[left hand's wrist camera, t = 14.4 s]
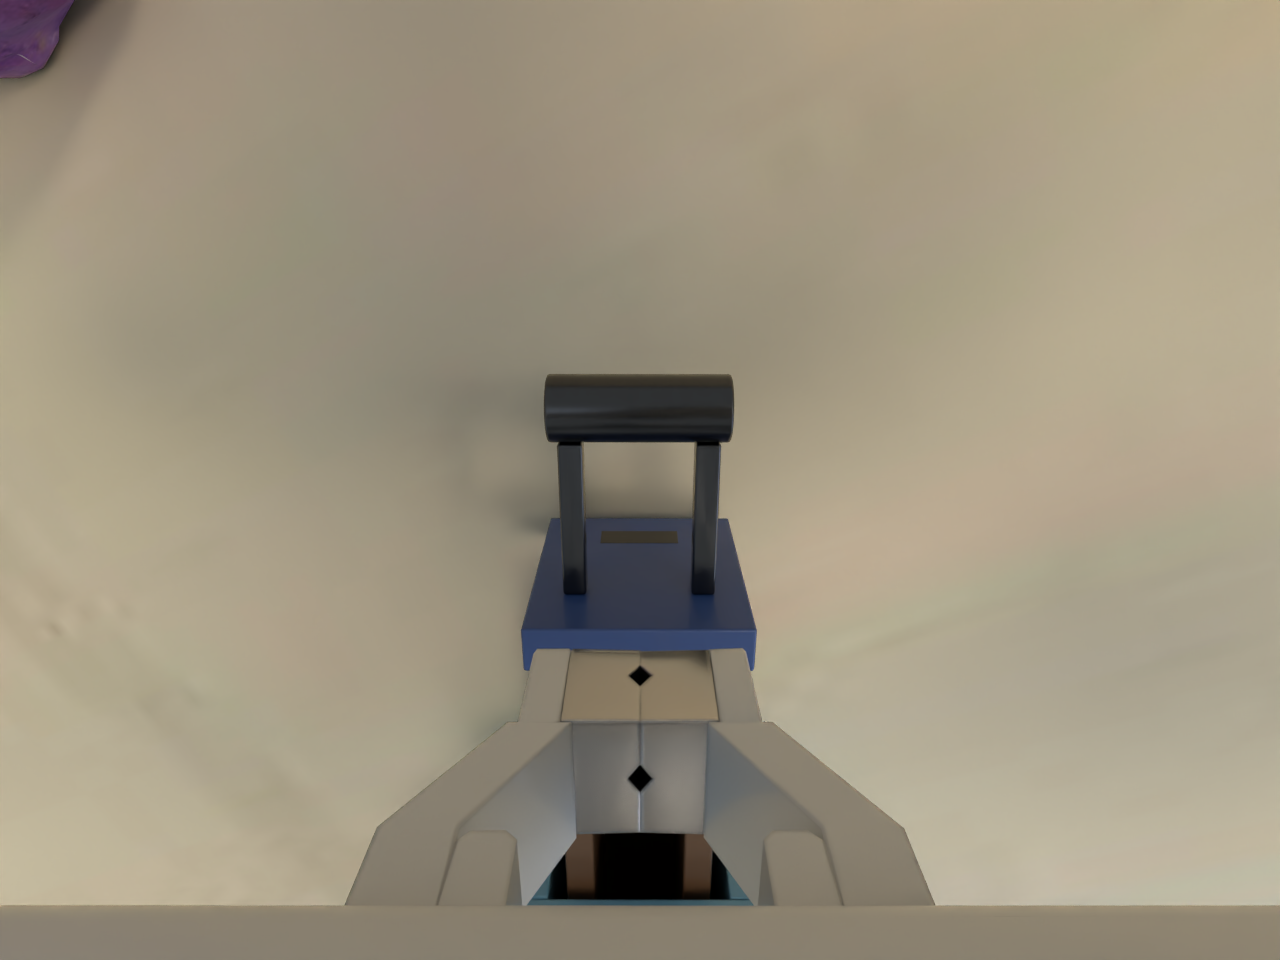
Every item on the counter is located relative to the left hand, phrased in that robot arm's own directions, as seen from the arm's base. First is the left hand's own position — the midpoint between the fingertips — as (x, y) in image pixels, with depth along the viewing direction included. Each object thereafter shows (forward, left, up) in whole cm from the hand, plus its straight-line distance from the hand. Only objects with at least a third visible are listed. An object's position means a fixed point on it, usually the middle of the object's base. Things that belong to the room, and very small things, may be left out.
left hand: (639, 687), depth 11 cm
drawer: (+10, 0, -12) cm, 16 cm away
